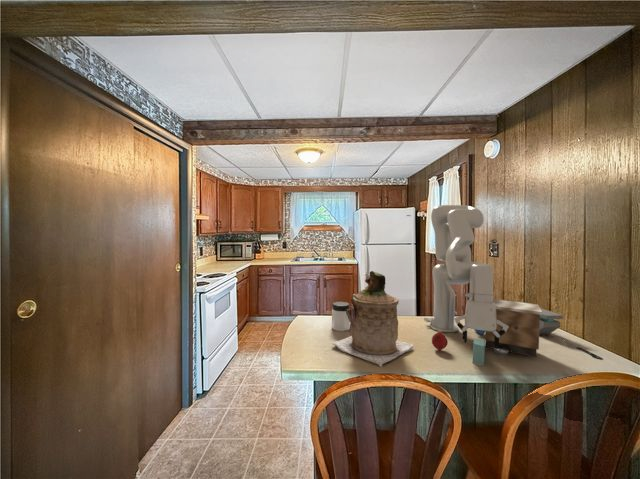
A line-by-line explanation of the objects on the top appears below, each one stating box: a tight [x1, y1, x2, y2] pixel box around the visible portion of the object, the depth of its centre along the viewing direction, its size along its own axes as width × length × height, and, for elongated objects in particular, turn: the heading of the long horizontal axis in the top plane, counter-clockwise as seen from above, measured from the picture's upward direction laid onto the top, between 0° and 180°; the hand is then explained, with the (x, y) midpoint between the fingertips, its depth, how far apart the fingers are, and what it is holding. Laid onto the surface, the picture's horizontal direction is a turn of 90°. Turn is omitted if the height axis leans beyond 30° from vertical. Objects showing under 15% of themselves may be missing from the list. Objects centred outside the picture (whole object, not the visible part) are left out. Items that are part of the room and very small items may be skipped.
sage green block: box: [472, 337, 486, 366], centre depth 113 cm, size 4×18×7 cm, turn 148°
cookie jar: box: [331, 270, 414, 368], centre depth 118 cm, size 25×25×32 cm
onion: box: [431, 331, 448, 351], centre depth 117 cm, size 6×6×8 cm
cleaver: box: [561, 338, 604, 361], centre depth 125 cm, size 29×1×10 cm
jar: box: [331, 301, 351, 332], centre depth 141 cm, size 9×8×12 cm
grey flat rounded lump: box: [493, 345, 510, 356], centre depth 115 cm, size 5×5×2 cm
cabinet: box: [484, 298, 542, 357], centre depth 116 cm, size 18×14×19 cm
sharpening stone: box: [520, 301, 564, 335], centre depth 142 cm, size 25×8×11 cm, turn 4°
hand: (480, 344), depth 107 cm, fingers open, 9 cm apart
